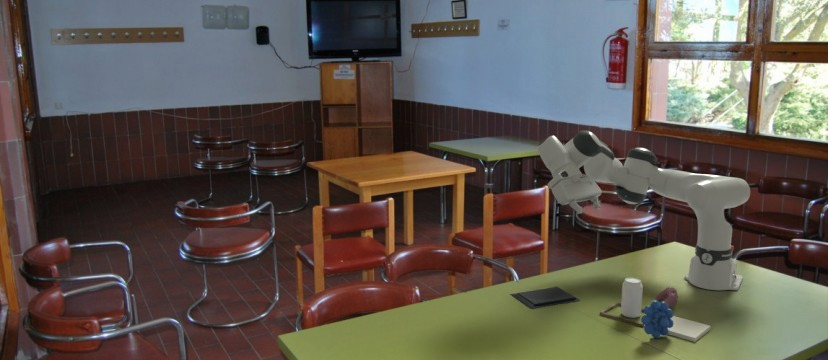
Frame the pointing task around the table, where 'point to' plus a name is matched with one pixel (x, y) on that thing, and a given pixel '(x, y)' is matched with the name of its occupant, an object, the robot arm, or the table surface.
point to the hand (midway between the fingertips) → (590, 210)
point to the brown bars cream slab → (679, 329)
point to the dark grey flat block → (544, 297)
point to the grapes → (657, 319)
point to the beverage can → (631, 297)
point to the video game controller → (668, 296)
